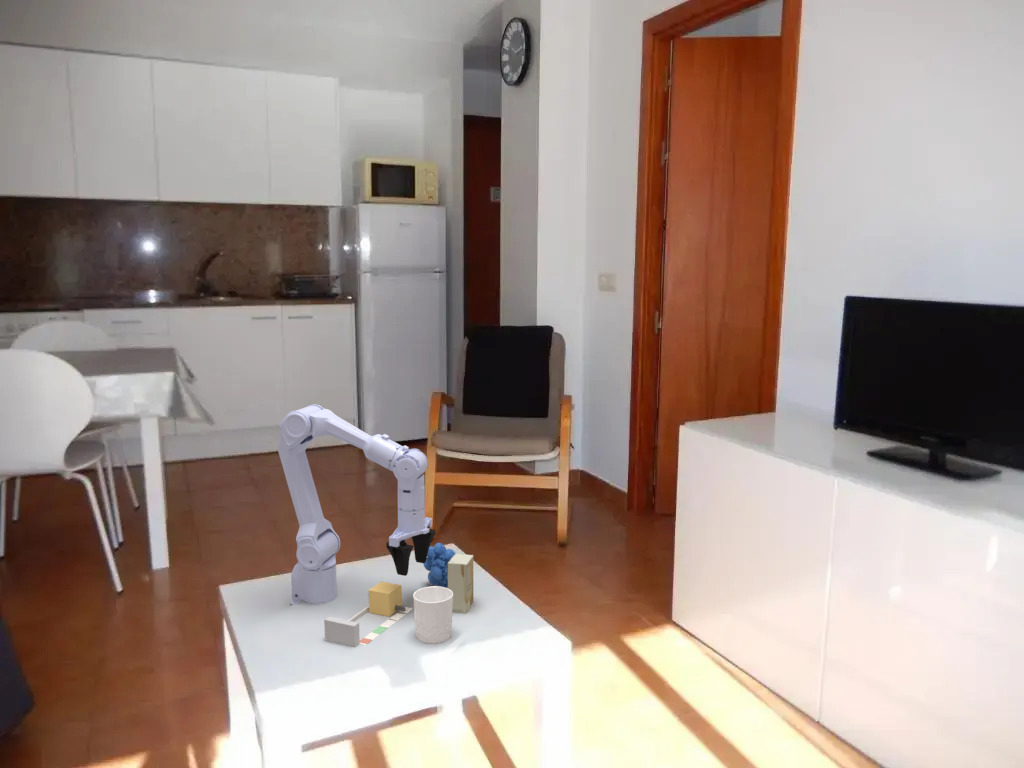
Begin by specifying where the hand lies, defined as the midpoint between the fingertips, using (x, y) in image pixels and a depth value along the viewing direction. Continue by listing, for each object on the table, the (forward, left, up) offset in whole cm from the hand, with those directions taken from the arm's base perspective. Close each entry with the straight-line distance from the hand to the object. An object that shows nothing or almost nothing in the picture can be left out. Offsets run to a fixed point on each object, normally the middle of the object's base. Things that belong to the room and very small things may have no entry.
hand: (411, 568), depth 164 cm
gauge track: (-4, -10, -10) cm, 15 cm away
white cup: (+11, -10, -10) cm, 18 cm away
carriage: (-3, -4, -8) cm, 10 cm away
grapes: (+2, +10, -10) cm, 14 cm away
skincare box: (+10, +4, -10) cm, 15 cm away
